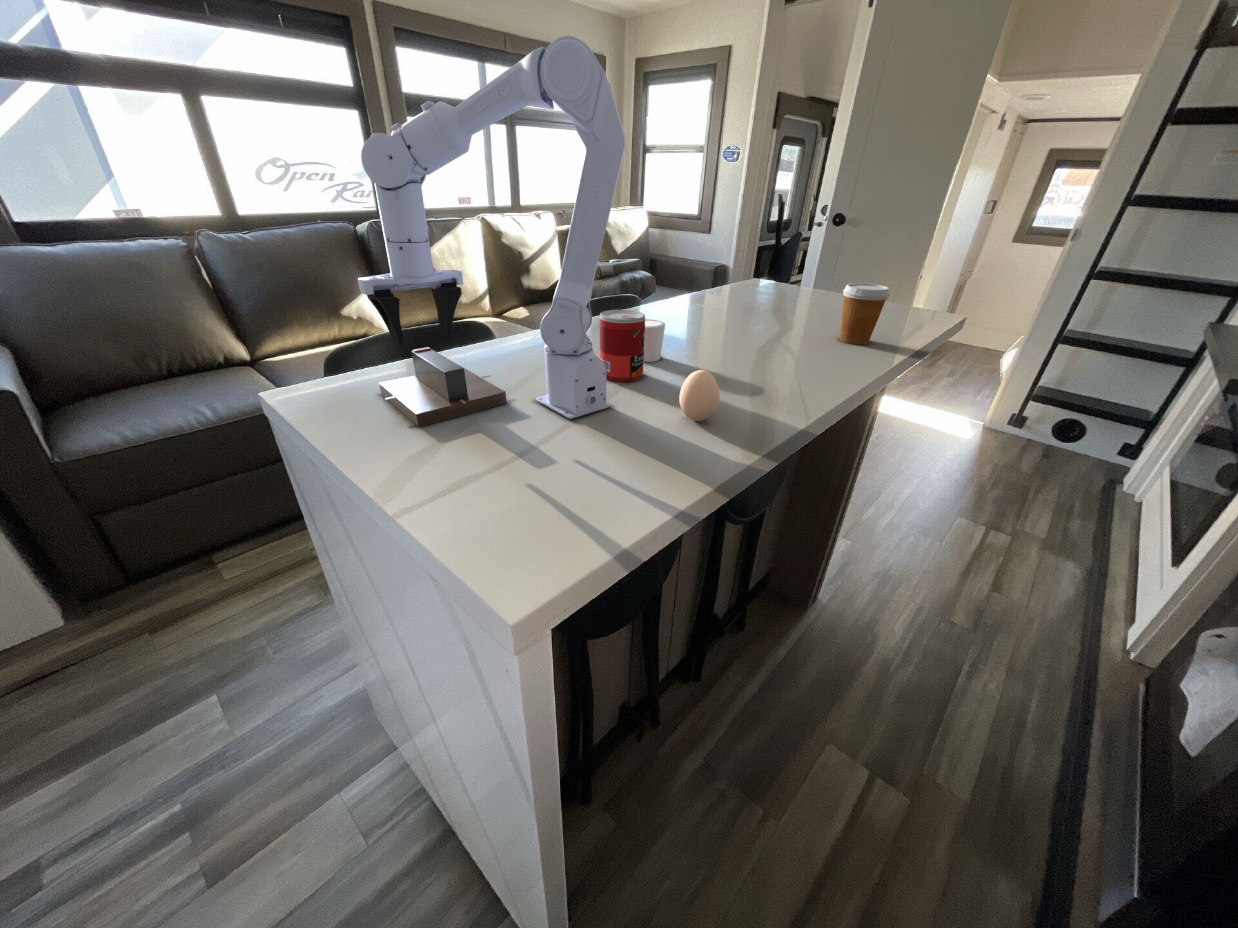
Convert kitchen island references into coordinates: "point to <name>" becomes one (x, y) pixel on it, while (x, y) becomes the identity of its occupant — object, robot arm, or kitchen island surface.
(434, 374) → the gray steel bar
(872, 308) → the disposable coffee cup
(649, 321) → the white cup
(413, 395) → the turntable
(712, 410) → the egg
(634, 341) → the canned food
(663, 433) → the kitchen island surface
